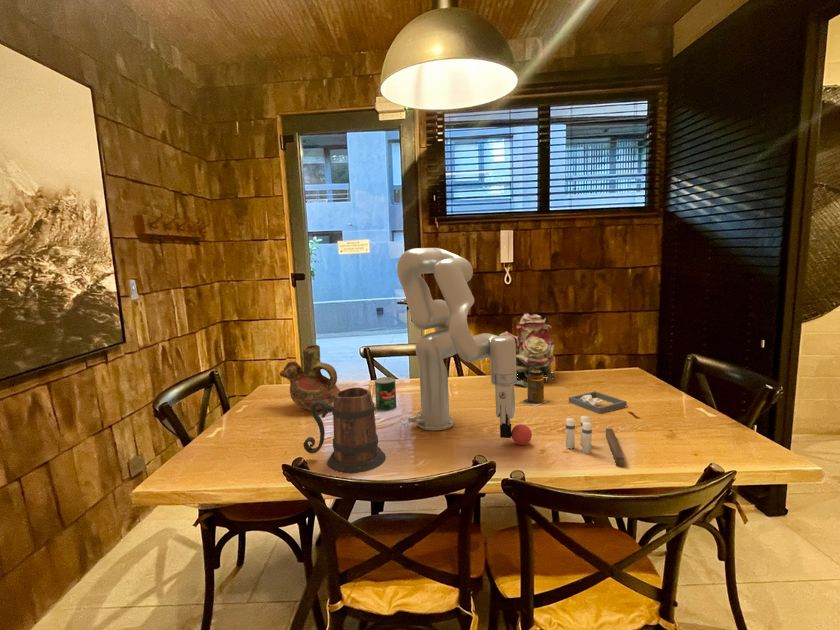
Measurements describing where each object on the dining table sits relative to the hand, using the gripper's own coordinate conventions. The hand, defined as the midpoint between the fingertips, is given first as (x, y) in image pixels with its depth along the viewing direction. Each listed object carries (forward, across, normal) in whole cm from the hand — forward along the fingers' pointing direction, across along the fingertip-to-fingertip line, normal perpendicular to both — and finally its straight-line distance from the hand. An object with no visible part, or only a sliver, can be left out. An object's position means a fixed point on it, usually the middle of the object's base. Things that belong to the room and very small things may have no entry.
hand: (505, 436), depth 136 cm
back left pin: (+3, +4, -23) cm, 23 cm away
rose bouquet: (+2, +71, -3) cm, 71 cm away
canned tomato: (+1, +25, +48) cm, 54 cm away
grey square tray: (+2, +41, -30) cm, 51 cm away
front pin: (+3, +1, -18) cm, 19 cm away
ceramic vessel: (0, +19, +76) cm, 79 cm away
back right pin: (+3, -2, -23) cm, 23 cm away
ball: (-1, +1, -5) cm, 5 cm away
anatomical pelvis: (+3, +40, -27) cm, 48 cm away
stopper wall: (+3, +1, -30) cm, 31 cm away
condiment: (+2, +41, -7) cm, 41 cm away
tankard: (+2, -19, +44) cm, 48 cm away
